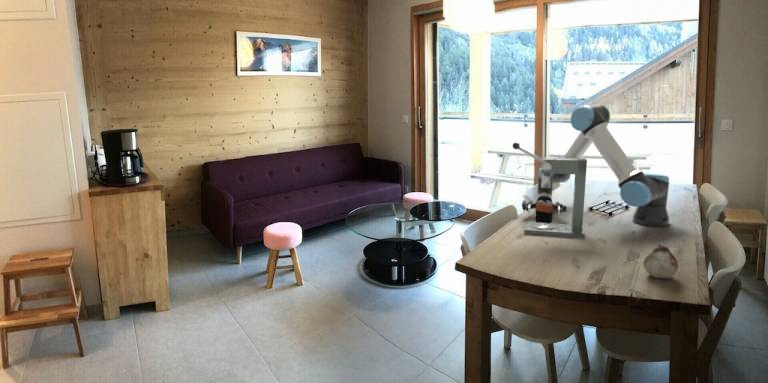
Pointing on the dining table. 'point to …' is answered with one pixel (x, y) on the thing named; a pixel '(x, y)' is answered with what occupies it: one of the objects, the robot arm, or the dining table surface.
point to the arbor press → (576, 228)
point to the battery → (544, 212)
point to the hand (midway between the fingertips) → (543, 211)
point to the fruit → (661, 263)
